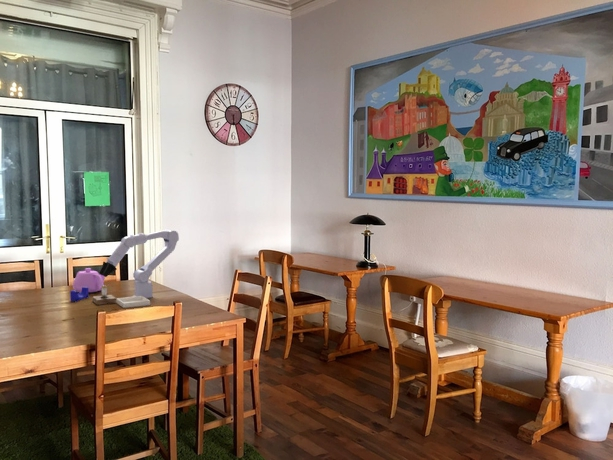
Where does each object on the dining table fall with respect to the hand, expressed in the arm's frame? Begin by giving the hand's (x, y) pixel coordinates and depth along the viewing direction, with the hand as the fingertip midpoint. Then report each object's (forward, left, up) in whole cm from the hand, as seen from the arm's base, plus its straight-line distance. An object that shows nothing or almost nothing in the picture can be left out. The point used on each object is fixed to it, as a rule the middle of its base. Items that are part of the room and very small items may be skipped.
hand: (102, 275), depth 293 cm
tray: (-13, +14, -15) cm, 24 cm away
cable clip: (+10, -13, -15) cm, 22 cm away
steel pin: (-1, +1, -15) cm, 15 cm away
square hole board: (-1, +1, -15) cm, 15 cm away
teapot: (-2, -34, -15) cm, 37 cm away
